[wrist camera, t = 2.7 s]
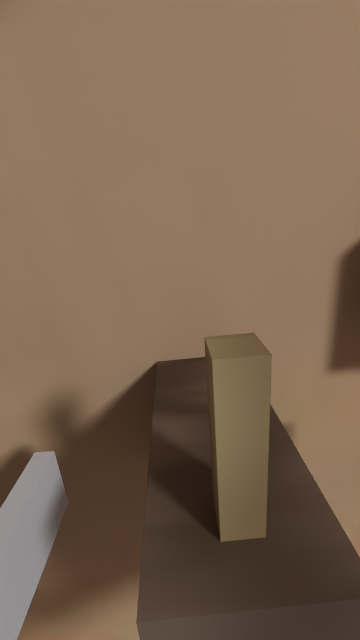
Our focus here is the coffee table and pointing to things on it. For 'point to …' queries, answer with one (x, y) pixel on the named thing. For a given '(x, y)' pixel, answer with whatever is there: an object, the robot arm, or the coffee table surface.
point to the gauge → (237, 513)
